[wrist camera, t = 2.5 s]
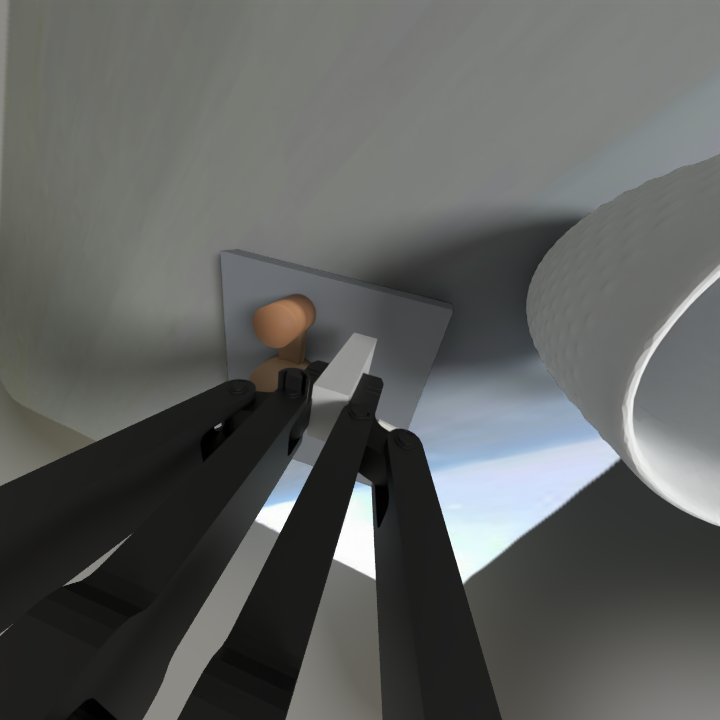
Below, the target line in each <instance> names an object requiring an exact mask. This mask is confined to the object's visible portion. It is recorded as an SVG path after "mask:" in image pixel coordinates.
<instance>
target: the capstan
mask: <svg viewBox="0 0 720 720" xmlns="http://www.w3.org/2000/svg"><path fill="white" fill-rule="evenodd" d="M315 320H316V309H315V306H314V304H313V303H312V301H311V300H310V299H309V298H308V297H306V296H304V295H302V294H292V295H290V296H288V297H285V298H283V299H281V300H278V301H276V302H274V303H271V304H269V305H267V306H264V307H262V308H260V309H258V310H257V311H256V313H255V314H254V317H253V328H254V331H255V333H256V335H257V337H258V338H259V339H260V340H261V341H262V342H263V343H264V344H266V345H267V346H269V347H272V348H279V354H276V355H273V356H271V357H270V358H269V359H267V360H266V361H265V362H264V363H262V364H261V365H260V366H258V367H257V368H256V369H255V370H254V371H253V372H252V373H251V375H250V377H249V381H251V382H253V383H254V384H255V386H256V391H261V392H274V391H275V390H276V389H277V388H278V372H279V371H280V370H282V369H285V368H299V369H302V370H305V369H306V368H307V367H308V365H309V364H310V363H311V362H310V361H308V360H307V359H305V358H304V356H305V347H306V337H307V329H308V328H309V327H311V326H312V325H313V324H314V322H315Z"/></svg>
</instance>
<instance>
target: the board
mask: <svg viewBox="0 0 720 720" xmlns="http://www.w3.org/2000/svg"><path fill="white" fill-rule="evenodd" d="M220 254H221V271H222V287H223V304H224V320H225V337H226V353H227V370H228V381H230V380H235V379H244V380H248V381H249V377H250V375H251V373H252V372H253V371H254V370H255V369H256V368H257V367H258V366H260V365H261V364H262V363H264V362H265V361H266V360H267V359H269V358H270V357H271V356H273V355H276V354H279V348H272V347H269V346H267V345H266V344H264V343H263V342H262V341H261V340H260V339H259V338H258V337H257V335H256V333H255V331H254V328H253V317H254V314H255V313H256V311H257V310H258V309H260V308H262V307H264V306H267V305H269V304H271V303H274V302H276V301H278V300H281V299H283V298H285V297H288V296H290V295H292V294H302V295H304V296H306V297H308V298H309V299H310V300H311V301H312V303H313V304H314V306H315V309H316V320H315V322H314V324H313V325H312V326H311V327H309V328H308V329H307V337H306V347H305V356H304V358H305V359H307V360H308V361H310V362H311V363H312V362H315V361H317V360H320V361H323V362H326V363H331V362H332V360H333V359H334V358H335V356H336V355H337V354H338V353H339V351H340V350H341V349H342V348H343V346H344V345H345V344H346V342H347V341H348V340H349V339H350V337H351V336H352V335H353V333H358V334H361V335H365V336H369V337H372V338H376V339H377V342H376V346H375V350H374V354H373V358H372V362H371V365H370V369H369V373H368V374H369V375H373V376H376V377H379V378H382V381H383V383H384V385H383V389H382V392H381V396H380V399H379V403H378V406H377V409H376V413H375V417H376V420H377V421H378V423H379V424H380V425H381V426H382V427H383V428H385V429H386V430H388V431H391V430H393V429H396V428H398V429H405V430H408V428H409V425H410V422H411V420H412V417H413V415H414V412H415V409H416V407H417V404H418V402H419V399H420V396H421V394H422V391H423V389H424V386H425V383H426V381H427V378H428V376H429V373H430V370H431V368H432V365H433V363H434V360H435V357H436V355H437V352H438V350H439V347H440V344H441V342H442V339H443V337H444V334H445V332H446V329H447V326H448V324H449V321H450V319H451V316H452V313H453V311H454V310H453V307H452V304H450V303H446V302H443V301H439V300H435V299H431V298H427V297H423V296H419V295H415V294H411V293H407V292H403V291H399V290H395V289H391V288H387V287H383V286H380V285H376V284H372V283H368V282H364V281H360V280H356V279H352V278H348V277H344V276H340V275H336V274H332V273H328V272H324V271H320V270H317V269H313V268H309V267H305V266H301V265H297V264H293V263H289V262H285V261H281V260H277V259H273V258H269V257H265V256H261V255H257V254H253V253H250V252H246V251H242V250H238V249H236V250H221V251H220ZM307 428H308V427H307ZM307 428H306V430H305V432H304V433H303V439H302V443H301V445H300V446H299V448H298V450H297V451H296V453H295V455H294V456H293V458H292V459H294V460H297V461H300V462H303V463H306V464H309V465H311V466H314V465H315V463H316V461H317V459H318V457H319V455H320V453H321V451H322V449H323V447H324V445H325V443H326V441H323V440H320V439H317V438H314V437H311V436H308V435H307ZM356 481H357V482H360V483H363V484H365V485H368V486H371V485H372V482H371V481H369V480H368V479H367V478H365V477H364V476H362V475H361V474H360V473H358V475H357V478H356ZM371 487H372V486H371Z"/></svg>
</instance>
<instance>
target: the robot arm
mask: <svg viewBox="0 0 720 720" xmlns="http://www.w3.org/2000/svg"><path fill="white" fill-rule="evenodd" d="M376 342H377V339H376V338H372V337H369V336H365V335H361V334H358V333H353V335H352V336H351V337H350V339H349V340H348V341H347V342H346V344H345V345H344V346H343V348H342V349H341V350H340V351H339V353H338V354H337V355H336V356H335V358H334V359H333V360H332V362H331V363H326V362H323V361H320V360H317V361H315V362H312V363H310V364H309V365H308V367H307V368H306V369H305V370H302V369H299V368H285V369H282V370H280V371H279V372H278V388H277V389H276V390H275V391H274V392H261V391H256V386H255V384H254V383H253V382H251V381H248V380H244V379H235V380H230V381H227V382H225V383H223V384H220V385H218V386H216V387H214V388H212V389H210V390H207V391H205V392H203V393H201V394H199V395H197V396H194V397H192V398H190V399H188V400H186V401H184V402H181V403H179V404H177V405H175V406H173V407H171V408H168V409H166V410H164V411H162V412H160V413H158V414H155V415H153V416H151V417H149V418H147V419H145V420H142V421H140V422H138V423H136V424H134V425H132V426H129V427H127V428H125V429H123V430H121V431H119V432H116V433H114V434H112V435H110V436H108V437H106V438H103V439H101V440H99V441H97V442H95V443H93V444H90V445H88V446H86V447H84V448H82V449H80V450H77V451H75V452H73V453H71V454H69V455H67V456H65V457H62V458H60V459H58V460H56V461H54V462H52V463H49V464H47V465H45V466H43V467H41V468H39V469H36V470H34V471H32V472H30V473H28V474H26V475H23V476H21V477H19V478H17V479H15V480H13V481H11V482H8V483H6V484H4V485H2V486H0V633H1V632H3V631H4V630H6V629H7V628H8V627H9V626H11V625H12V624H13V623H14V624H13V625H12V626H11V627H9V628H8V630H6V631H5V632H4V633H3V634H2V635H1V636H0V720H142V719H143V718H144V716H145V714H146V713H147V711H148V709H149V707H150V705H151V704H152V702H153V700H154V698H155V696H156V694H157V693H158V690H159V688H160V686H161V684H162V682H163V679H164V677H165V674H166V671H167V668H168V665H169V662H170V660H171V658H172V656H173V654H174V652H175V650H176V649H177V647H178V645H179V644H180V642H181V640H182V639H183V637H184V635H185V634H186V632H187V630H188V629H189V627H190V625H191V624H192V622H193V621H194V619H195V617H196V616H197V614H198V612H199V611H200V609H201V607H202V606H203V604H204V602H205V601H206V599H207V598H208V596H209V594H210V593H211V591H212V589H213V588H214V586H215V584H216V583H217V581H218V579H219V578H220V576H221V574H222V573H223V571H224V570H225V568H226V566H227V564H228V563H229V561H230V560H231V558H232V556H233V555H234V553H235V551H236V550H237V548H238V547H239V545H240V543H241V542H242V540H243V538H244V537H245V535H246V533H247V532H248V530H249V529H250V527H251V525H252V524H253V522H254V520H255V519H256V517H257V515H258V514H259V512H260V510H261V509H262V507H263V506H264V504H265V502H266V501H267V499H268V497H269V496H270V494H271V492H272V491H273V489H274V487H275V486H276V484H277V483H278V481H279V479H280V478H281V476H282V474H283V473H284V471H285V469H286V468H287V466H288V464H289V463H290V461H291V460H292V458H293V456H294V455H295V453H296V451H297V450H298V448H299V446H300V445H301V443H302V439H303V433H304V432H305V430H306V428H307V427H308V428H307V435H308V436H311V437H314V438H317V439H320V440H323V441H326V443H325V445H324V447H323V449H322V451H321V453H320V455H319V457H318V459H317V461H316V463H315V465H314V467H313V469H312V471H311V473H310V475H309V477H308V479H307V481H306V483H305V485H304V487H303V489H302V490H301V492H300V494H299V496H298V498H297V500H296V502H295V504H294V506H293V508H292V510H291V512H290V514H289V516H288V518H287V520H286V522H285V524H284V526H283V528H282V530H281V532H280V534H279V536H278V539H277V540H276V543H275V545H274V547H273V549H272V550H271V552H270V555H269V556H268V558H267V560H266V562H265V564H264V567H263V568H262V571H261V572H260V574H259V577H258V578H257V580H256V583H255V585H254V586H253V588H252V591H251V592H250V595H249V596H248V599H247V601H246V602H245V605H244V606H243V608H242V610H241V613H240V614H239V617H238V618H237V620H236V623H235V624H234V626H233V629H232V630H231V632H230V634H229V636H228V638H227V639H226V641H225V642H224V644H223V645H222V647H221V648H220V649H219V650H218V651H217V652H216V654H215V655H214V656H213V657H212V658H211V660H210V662H209V663H208V665H207V666H206V668H205V669H204V671H203V673H202V674H201V676H200V678H199V680H198V682H197V684H196V685H195V687H194V689H193V691H192V693H191V694H190V696H189V698H188V700H187V702H186V704H185V706H184V708H183V710H182V712H181V714H180V716H179V717H178V719H177V720H285V719H286V716H287V712H288V709H289V706H290V702H291V699H292V696H293V692H294V689H295V685H296V682H297V679H298V675H299V672H300V668H301V665H302V661H303V658H304V655H305V651H306V648H307V645H308V641H309V638H310V634H311V631H312V627H313V624H314V620H315V617H316V613H317V611H318V607H319V604H320V600H321V597H322V594H323V590H324V587H325V583H326V580H327V576H328V573H329V569H330V566H331V563H332V560H333V556H334V553H335V549H336V546H337V543H338V539H339V536H340V532H341V529H342V526H343V522H344V519H345V515H346V512H347V509H348V505H349V502H350V498H351V495H352V492H353V488H354V485H355V481H356V478H357V475H358V473H360V474H361V475H362V476H364V477H365V478H367V479H368V480H369V481H371V482H372V485H371V486H372V507H373V527H374V548H375V569H376V590H377V609H378V610H377V611H378V632H379V652H380V673H381V693H382V715H383V720H502V719H501V715H500V712H499V708H498V704H497V702H496V698H495V694H494V691H493V687H492V684H491V680H490V677H489V673H488V670H487V666H486V663H485V660H484V656H483V653H482V649H481V646H480V642H479V639H478V635H477V632H476V628H475V626H474V622H473V618H472V615H471V611H470V608H469V604H468V601H467V597H466V594H465V591H464V587H463V584H462V580H461V577H460V573H459V570H458V566H457V563H456V559H455V556H454V552H453V549H452V546H451V542H450V539H449V535H448V532H447V528H446V525H445V521H444V518H443V514H442V511H441V508H440V504H439V501H438V497H437V494H436V490H435V487H434V483H433V480H432V476H431V473H430V469H429V466H428V463H427V459H426V456H425V452H424V449H423V445H422V443H421V441H420V439H419V438H418V437H417V436H416V435H415V434H414V433H412V432H410V431H409V430H405V429H398V428H396V429H393V430H391V431H388V430H386V429H385V428H383V427H382V426H381V425H380V424H379V423H378V421H377V420H376V417H375V413H376V409H377V406H378V403H379V399H380V396H381V392H382V389H383V385H384V383H383V381H382V378H379V377H376V376H373V375H369V374H368V373H369V369H370V365H371V362H372V358H373V354H374V350H375V346H376ZM220 423H221V424H222V426H221V427H219V428H217V429H214V427H215V426H216V425H218V424H220ZM133 532H134V533H133ZM132 533H133V534H132ZM130 534H132V535H131V536H130V537H129V538H128V539H127V540H126V541H125V542H124V543H123V544H122V545H121V546H120V547H119V548H118V549H117V550H116V551H115V552H114V553H113V554H112V555H111V556H110V557H109V558H108V559H107V560H106V561H105V562H104V563H103V564H102V565H101V566H100V567H99V568H98V569H97V570H95V571H94V572H93V573H92V574H91V575H90V576H88V577H86V578H85V579H83V580H82V581H79V582H76V583H72V584H69V585H66V586H63V585H65V584H66V583H67V582H69V581H70V580H71V579H73V578H74V577H75V576H77V575H78V574H79V573H81V572H82V571H83V570H85V569H86V568H87V567H89V566H90V565H91V564H92V563H94V562H95V561H96V560H98V559H99V558H100V557H102V556H103V555H104V554H106V553H107V552H108V551H110V550H111V549H112V548H114V547H115V546H116V545H117V544H119V543H120V542H121V541H123V540H124V539H125V538H127V537H128V536H129V535H130Z"/></svg>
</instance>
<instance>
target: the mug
mask: <svg viewBox="0 0 720 720" xmlns="http://www.w3.org/2000/svg"><path fill="white" fill-rule="evenodd" d="M527 296H528V297H527V299H526V302H527V304H526V305H527V307H526V314H527V317H528V318H527V322H528V326H529V328H530V329H529V332H530V335H531V337H532V338H533V342H534V346H535V348H536V349H537V350H538V352H539V357H540V359H541V360H542V361H543V362H544V363H545V365H546V367H547V370H548V372H549V373H550V374H551V375H552V376H553V377H554V378H555V380H556V382H557V385H558V386H559V387H560V388H561V389H563V391H564V392H565V393H566V395H567V397H568V399H569V400H570V401H571V402H572V403H573V404H575V405H576V406H577V407H578V409H579V410H580V411H581V413H582V415H583V416H584V418H585V419H586V420H587V421H588V422H589V423H590V424H591V425H592V426H593V427H594V428H595V429H596V430H597V431H598V432H599V434H600V436H601V437H602V439H603V440H605V441H606V442H607V443H608V444H609V445H610V446H611V447H612V448H613V449H614V450H615V452H616V453H617V454H618V455H619V456H620V457H621V458H622V459H623V461H624V462H625V463H626V464H627V465H628V467H629V468H630V469H631V470H632V471H633V472H634V473H635V474H636V475H637V476H638V477H639V479H640V480H642V481H643V482H644V483H645V484H646V485H647V486H648V487H649V488H650V489H651V490H653V491H654V492H655V493H656V494H658V495H659V496H661V497H662V498H663V499H665V500H666V501H668V502H669V503H671V504H672V505H674V506H676V507H677V508H679V509H681V510H683V511H685V512H687V513H689V514H691V515H693V516H695V517H697V518H699V519H702V520H704V521H707V522H709V523H711V524H714V525H718V526H720V154H719V155H717V156H715V157H712V158H710V159H708V160H705V161H702V162H699V163H696V164H693V165H688V166H683V167H680V168H678V169H676V170H674V171H672V172H671V173H669V174H667V175H665V176H662V177H659V178H655V179H651V180H649V181H647V182H645V183H644V184H642V185H641V186H639V187H637V188H635V189H632V190H629V191H626V192H624V193H623V194H621V195H619V196H618V197H617V198H615V199H614V200H613V201H611V202H608V203H606V204H603V205H601V206H600V207H599V208H598V209H597V210H596V211H595V212H593V213H591V214H589V215H587V216H585V217H584V218H583V219H581V220H580V221H579V222H578V223H577V224H576V225H575V226H573V227H571V228H570V230H568V231H567V232H566V233H565V234H564V235H563V236H562V237H561V238H560V239H558V240H557V241H556V243H555V244H554V246H553V247H552V248H551V249H550V250H549V251H548V252H547V254H546V255H545V256H544V257H543V260H542V261H541V262H540V263H539V265H538V267H537V269H536V271H535V274H534V275H533V277H532V281H531V283H530V285H529V290H528V295H527Z"/></svg>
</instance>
